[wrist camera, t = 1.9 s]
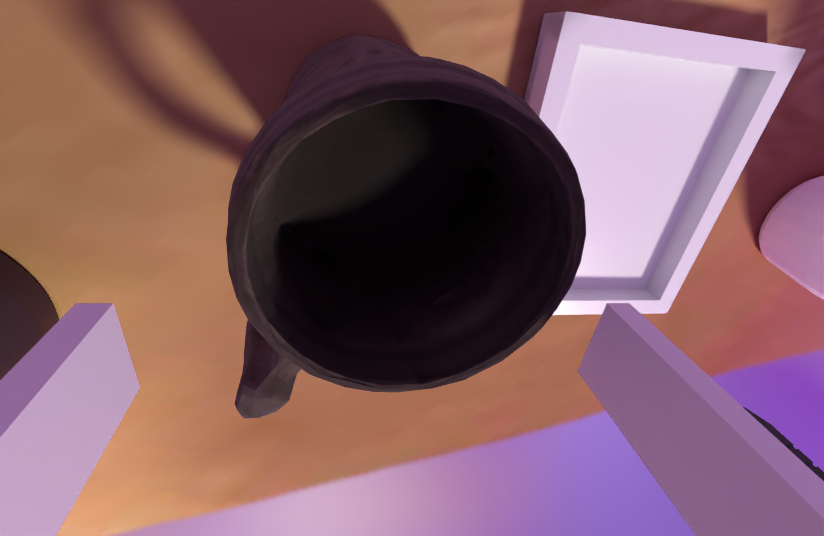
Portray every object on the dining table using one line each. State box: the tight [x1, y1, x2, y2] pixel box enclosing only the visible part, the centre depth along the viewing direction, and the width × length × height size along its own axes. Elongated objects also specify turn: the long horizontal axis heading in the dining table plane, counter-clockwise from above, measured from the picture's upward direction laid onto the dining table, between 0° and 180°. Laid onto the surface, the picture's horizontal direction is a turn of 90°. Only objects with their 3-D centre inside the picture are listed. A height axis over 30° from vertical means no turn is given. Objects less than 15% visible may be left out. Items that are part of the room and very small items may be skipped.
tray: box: [524, 11, 806, 315], centre depth 31 cm, size 18×22×3 cm
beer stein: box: [226, 35, 586, 418], centre depth 20 cm, size 15×11×20 cm
